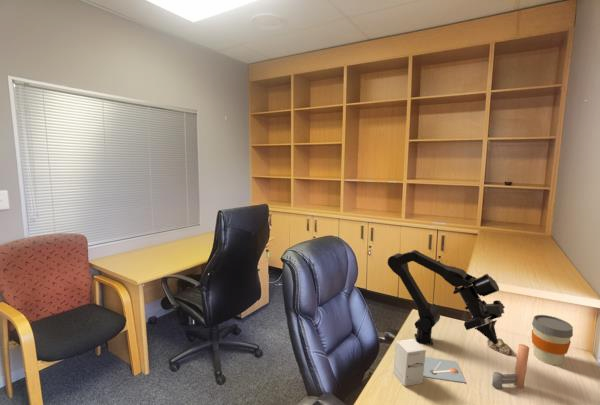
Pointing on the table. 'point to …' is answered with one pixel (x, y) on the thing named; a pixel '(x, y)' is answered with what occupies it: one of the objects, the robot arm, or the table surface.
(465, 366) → the table surface
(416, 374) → the supplement box
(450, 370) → the card
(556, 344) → the reusable coffee cup
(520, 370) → the orange grey t-shaped piece
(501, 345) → the mineral rock
